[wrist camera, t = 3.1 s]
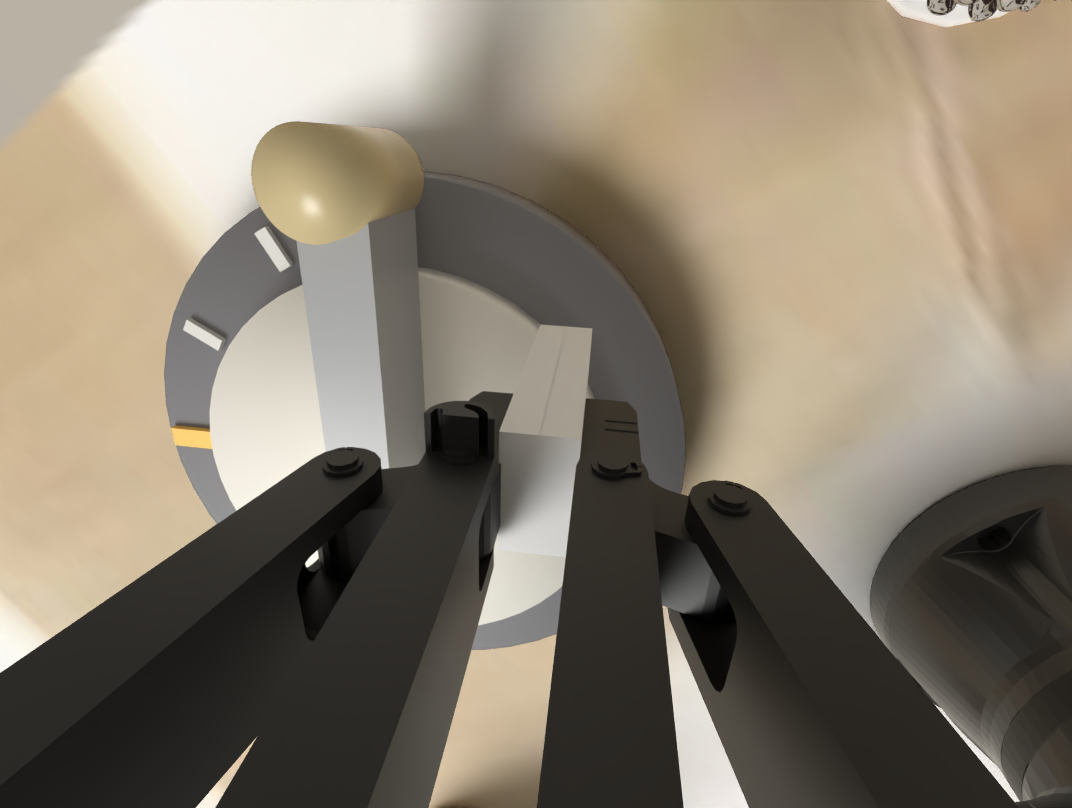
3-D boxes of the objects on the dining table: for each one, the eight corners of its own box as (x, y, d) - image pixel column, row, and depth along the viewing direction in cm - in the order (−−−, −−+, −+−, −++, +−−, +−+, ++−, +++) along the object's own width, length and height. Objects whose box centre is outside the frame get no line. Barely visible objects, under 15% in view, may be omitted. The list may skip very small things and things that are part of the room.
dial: (591, 627, 30) (585, 754, 24) (264, 585, 32) (177, 693, 26) (645, 139, 20) (659, 135, 14) (163, 119, 22) (-20, 108, 16)
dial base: (720, 186, 24) (735, 191, 21) (645, 636, 34) (648, 682, 32) (152, 158, 26) (92, 159, 23) (250, 585, 37) (218, 623, 34)
